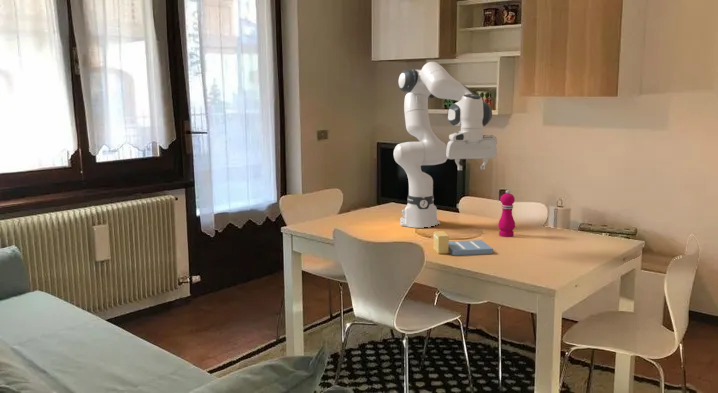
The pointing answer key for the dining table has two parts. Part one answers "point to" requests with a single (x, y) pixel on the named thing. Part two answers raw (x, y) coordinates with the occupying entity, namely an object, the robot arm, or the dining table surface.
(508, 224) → the pepper mill
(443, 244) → the pale yellow block
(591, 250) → the dining table surface
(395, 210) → the dining table surface
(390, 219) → the dining table surface
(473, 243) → the board
